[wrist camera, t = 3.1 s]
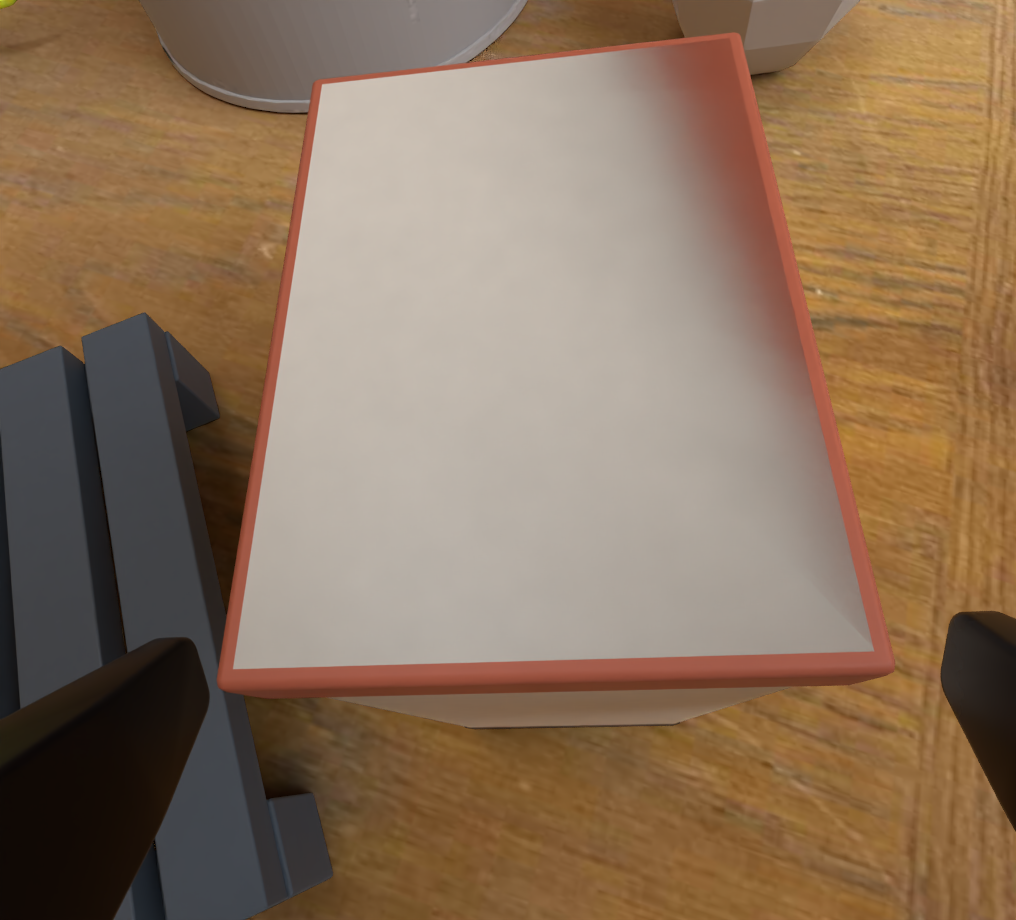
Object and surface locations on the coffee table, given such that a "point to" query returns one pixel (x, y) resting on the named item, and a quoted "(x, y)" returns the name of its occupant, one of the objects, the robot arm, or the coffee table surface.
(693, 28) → the apple
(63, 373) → the grey shipping pallet
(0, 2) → the dinosaur figurine
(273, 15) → the container
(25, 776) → the robot arm
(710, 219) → the cream boot
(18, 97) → the coffee table surface
